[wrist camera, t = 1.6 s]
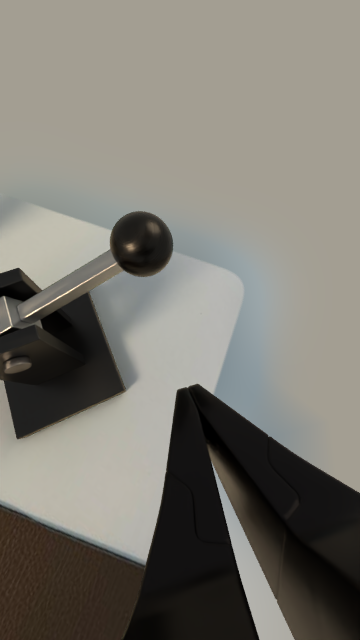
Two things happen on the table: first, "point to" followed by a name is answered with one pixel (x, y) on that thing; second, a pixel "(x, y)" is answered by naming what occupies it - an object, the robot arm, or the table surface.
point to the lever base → (55, 361)
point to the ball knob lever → (97, 270)
